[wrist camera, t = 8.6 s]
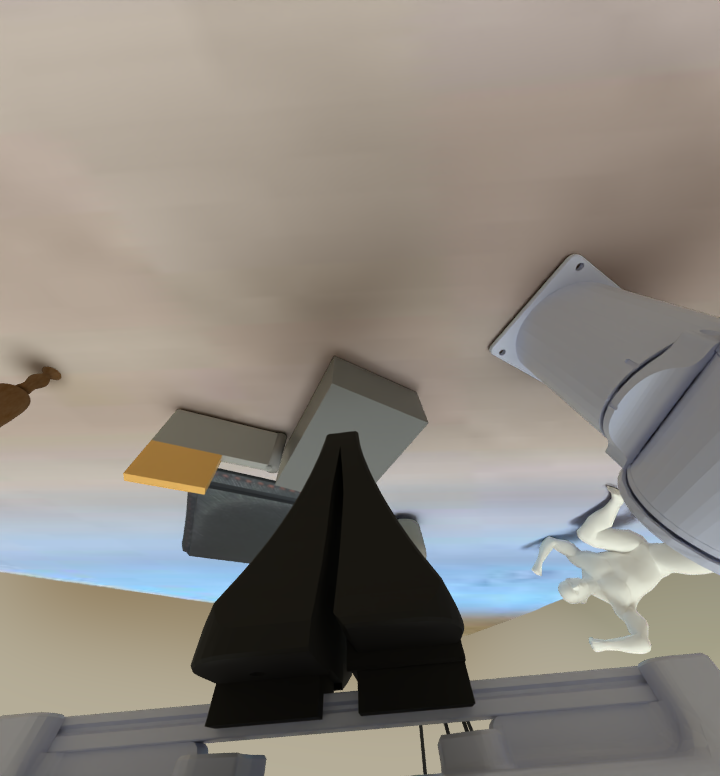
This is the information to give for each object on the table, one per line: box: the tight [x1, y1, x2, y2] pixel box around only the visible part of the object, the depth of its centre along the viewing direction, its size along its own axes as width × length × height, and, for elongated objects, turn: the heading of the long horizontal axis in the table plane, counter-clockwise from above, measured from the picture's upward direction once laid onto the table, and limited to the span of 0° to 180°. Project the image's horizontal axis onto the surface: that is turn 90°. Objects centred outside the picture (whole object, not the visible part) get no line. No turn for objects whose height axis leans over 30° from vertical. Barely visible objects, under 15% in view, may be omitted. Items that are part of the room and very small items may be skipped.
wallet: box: [182, 468, 300, 563], centre depth 34 cm, size 20×2×15 cm
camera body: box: [275, 356, 428, 492], centre depth 23 cm, size 8×13×4 cm, turn 152°
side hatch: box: [123, 409, 287, 495], centre depth 21 cm, size 1×10×7 cm, turn 68°
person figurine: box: [532, 486, 712, 654], centre depth 34 cm, size 13×13×18 cm
